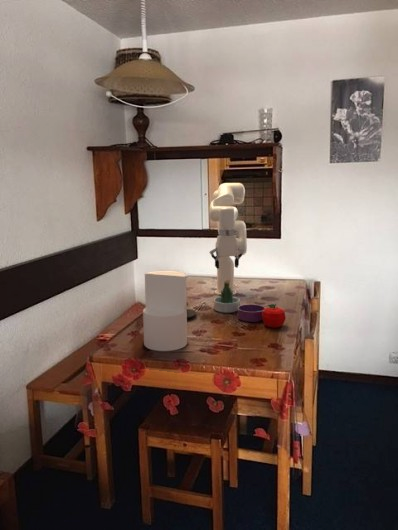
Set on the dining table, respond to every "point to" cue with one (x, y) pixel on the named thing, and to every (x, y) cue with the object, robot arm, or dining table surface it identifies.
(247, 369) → the dining table surface
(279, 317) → the apple
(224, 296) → the bottle
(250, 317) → the plum bowl
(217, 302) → the pale bowl
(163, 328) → the cylinder
